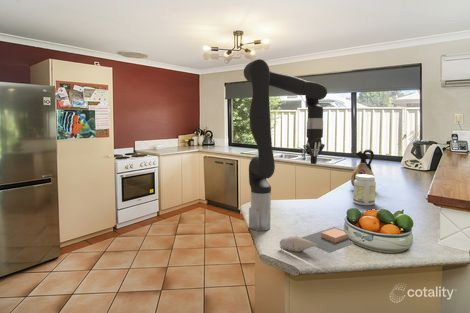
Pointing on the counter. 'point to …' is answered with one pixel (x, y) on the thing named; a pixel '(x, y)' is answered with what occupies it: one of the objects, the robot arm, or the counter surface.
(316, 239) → the mat
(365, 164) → the ceramic jug
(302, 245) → the ice cream cone
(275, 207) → the counter surface
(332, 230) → the tile
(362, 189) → the supplement tub
